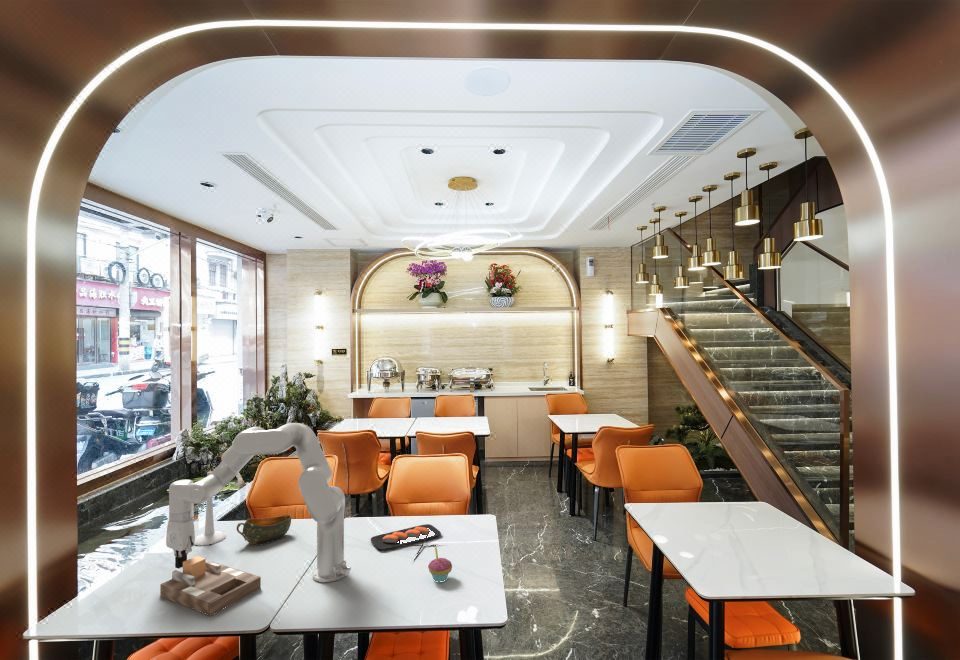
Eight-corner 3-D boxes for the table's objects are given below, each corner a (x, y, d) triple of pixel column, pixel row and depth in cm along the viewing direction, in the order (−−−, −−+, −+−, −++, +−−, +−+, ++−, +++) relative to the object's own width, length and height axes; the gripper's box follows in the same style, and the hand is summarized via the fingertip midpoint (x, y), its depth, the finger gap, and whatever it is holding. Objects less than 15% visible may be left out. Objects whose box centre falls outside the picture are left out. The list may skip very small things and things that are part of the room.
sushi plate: (429, 527, 213) (429, 518, 213) (460, 552, 187) (460, 542, 187) (368, 541, 198) (368, 532, 198) (392, 571, 172) (392, 560, 172)
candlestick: (206, 532, 208) (207, 466, 209) (232, 534, 206) (232, 467, 207) (184, 545, 195) (185, 474, 196) (212, 546, 194) (212, 475, 194)
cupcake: (424, 583, 162) (424, 549, 162) (434, 572, 170) (434, 539, 170) (446, 587, 159) (446, 552, 159) (456, 575, 167) (455, 542, 167)
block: (205, 572, 163) (205, 558, 163) (191, 579, 159) (191, 564, 159) (196, 569, 165) (196, 555, 166) (182, 576, 161) (182, 561, 161)
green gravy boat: (245, 535, 204) (245, 512, 204) (292, 532, 208) (292, 510, 208) (234, 548, 191) (235, 524, 192) (285, 545, 195) (285, 521, 195)
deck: (260, 588, 160) (260, 569, 160) (210, 616, 144) (210, 595, 144) (211, 572, 172) (211, 554, 172) (160, 596, 156) (160, 576, 156)
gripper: (158, 515, 166) (157, 566, 165) (183, 522, 159) (182, 575, 159) (179, 508, 173) (179, 558, 172) (204, 515, 166) (204, 566, 166)
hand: (181, 566), depth 165 cm, fingers closed
